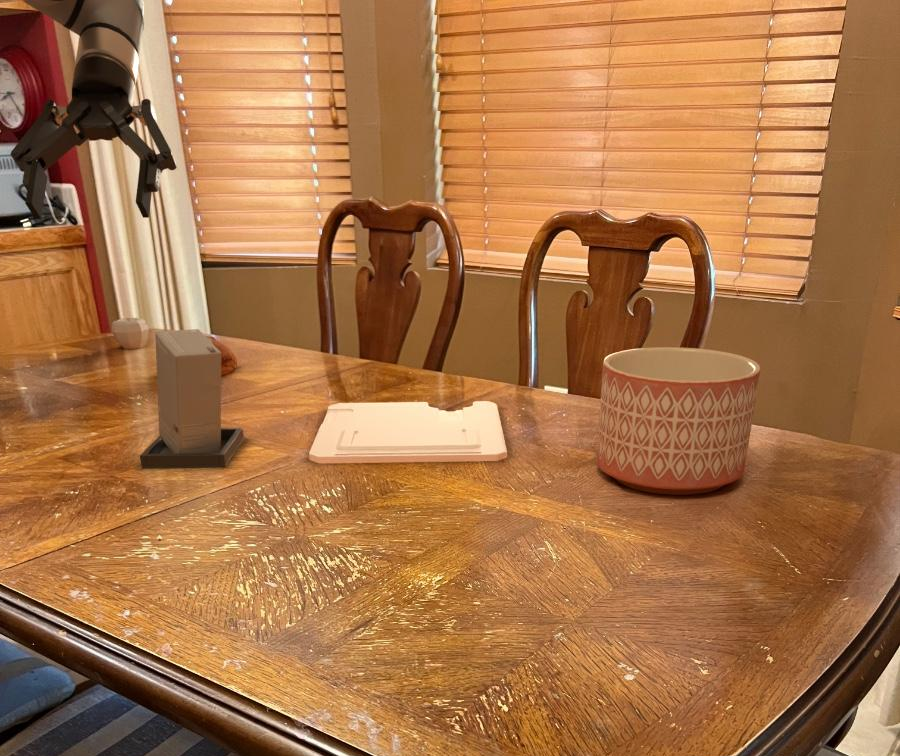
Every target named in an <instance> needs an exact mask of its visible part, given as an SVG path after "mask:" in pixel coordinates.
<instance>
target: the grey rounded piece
mask: <svg viewBox="0 0 900 756" xmlns="http://www.w3.org/2000/svg"><path fill="white" fill-rule="evenodd" d="M111 332H112V335H113V336H114V339H115V340H116V342H117V343H118V344H119V345H120V346H121V347H122V348H123V349H125V350H138V349H142V348H144V346H146V344H147V341H148V339H149V332H150V327H149V325H148V324H147V322H146V320H144V319H142V318H139V317H125V318H124V317H123V318H118V319H117V320H114V321H112V322H111Z"/></svg>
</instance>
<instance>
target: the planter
mask: <svg viewBox="0 0 900 756" xmlns="http://www.w3.org/2000/svg"><path fill="white" fill-rule="evenodd" d="M760 375H761V366H760V364H759V363H758V362H756V361H755V360H753V359H751V358H748V357H746V356H744V355H741V354H735V353H730V352H727V351H721V350H720V351H719V350H715V349H706V348H695V347H678V346H677V347H676V346H675V347H673V346H672V347H671V346H670V347H669V346H668V347H666V346H665V347H664V346H663V347H661V346H660V347H659V346H658V347H657V346H656V347H643V348H642V347H641V348H633V349H627V350H622V351H618V352H614V353H612V354H611V353H610V354H609V355H607V356H606V357H605V358H604V360H603V364H602V376H601V377H602V378H601V390H600V391H601V392H600V405H599V418H598V420H599V421H598V431H597V432H598V433H597V447H596V458H595V463H596V464H597V467H598V468H599V469H600V471H602V472H603V473H605V474H606V475H608V476H610V477H611V478H613V479H614V480H616V482H617V483H619V484H621V485H623V486H625V487H628V488H631V489H634V490H637V491H642V492H646V493H652V494H657V495H668V496H669V495H670V496H672V495H673V496H688V495H698V494H706V493H711V492H713V491H716V490H719V489H721V488H722V487H724V486H725V485H728V484H732V483H733V482H735V481H737V480H739V479H740V478H742V476H743V475H744V473H745V470H746V463H747V456H748V452H749V451H748V450H749V444H750V438H751V432H752V425H753V418H754V411H755V406H756V399H757V393H758V387H759V380H760Z"/></svg>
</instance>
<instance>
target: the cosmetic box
mask: <svg viewBox="0 0 900 756" xmlns="http://www.w3.org/2000/svg"><path fill="white" fill-rule="evenodd" d="M154 336H155V337H154V338H155V358H156V362H157V365H156V383H157V385H156V386H157V405H158V406H157V409H158V411H157V412H158V436H159V435H160V437H161V439H162V440H163V441H164V443H165V444H166V445H167V447H168V448H169V449H170V450H171V452H172V453H173V454H188V453H220V452H221V428H222V376H221V352H220V351H219V350H218V349H217V348H216V347H215V346H214V345H213V344H212V340H211V339H209V338H207V337H206V336H207V335H205V334H204V333H203V332H202V331H201V330H200V329H199V328H194V329H180V330H177V329H176V330H162V331H161V330H160V331H157V332H155V333H154Z"/></svg>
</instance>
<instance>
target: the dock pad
mask: <svg viewBox="0 0 900 756" xmlns="http://www.w3.org/2000/svg"><path fill="white" fill-rule="evenodd" d="M244 437H245V436H244V429H243V427H227V428H226V427H225V428H224V427H223V428H222V427H221V452H220V453H188V454H173V453H172V452H171V450H170V449H169V448H168V447H167V445H166V444H165V443H164V441H163V440H162V439H161V437H160V435H159V434H158V436H157V437H156V438H155V439H154V440H153V441H152V443H151V444H150V445H148V446H147V448H146V449H145V450H144V451H143V452H142V453H141V454H139V459H140V465H141V469H142V470H151V469H152V470H154V469H157V470H159V469H161V470H163V469H164V470H165V469H221V468H222V469H226V468H227V467H228V465H229V463H230V462H231V461H232V459H233V458H234V456H235V454H236V453H237V452H238V450H239V449H240V447H241V446H242V444H243V443H244V441H245V438H244Z"/></svg>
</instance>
